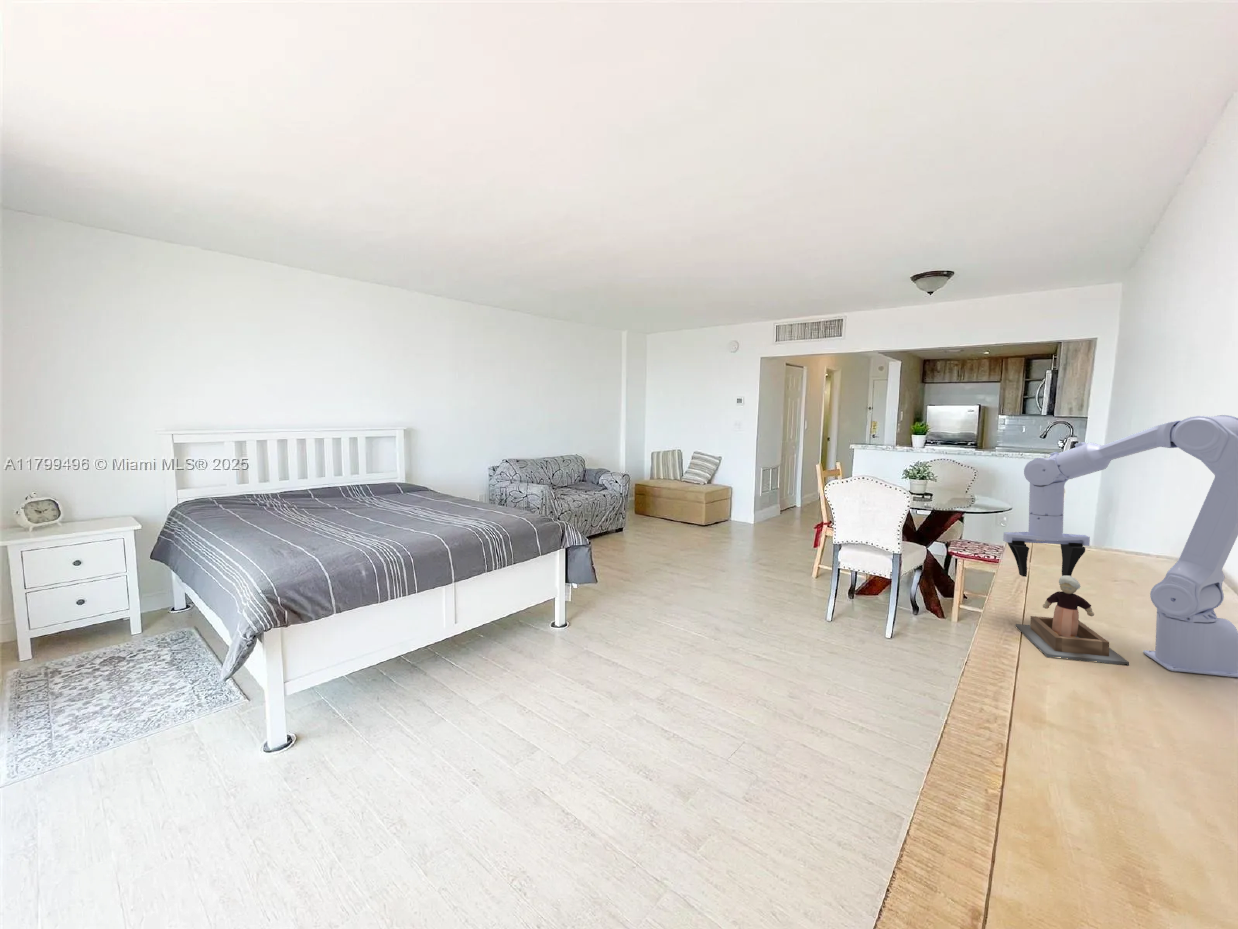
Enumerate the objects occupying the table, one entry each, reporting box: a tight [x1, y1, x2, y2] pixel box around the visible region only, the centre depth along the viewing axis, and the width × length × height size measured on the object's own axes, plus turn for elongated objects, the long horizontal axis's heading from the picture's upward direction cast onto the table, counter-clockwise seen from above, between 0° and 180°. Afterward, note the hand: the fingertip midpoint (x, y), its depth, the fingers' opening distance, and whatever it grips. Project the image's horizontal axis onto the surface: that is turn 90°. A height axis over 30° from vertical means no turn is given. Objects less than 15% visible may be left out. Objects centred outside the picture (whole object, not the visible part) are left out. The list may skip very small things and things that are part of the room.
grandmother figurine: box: [1042, 575, 1095, 638], centre depth 103 cm, size 8×4×13 cm, turn 54°
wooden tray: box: [1014, 615, 1130, 666], centre depth 103 cm, size 12×16×3 cm
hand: (1044, 576), depth 112 cm, fingers open, 7 cm apart
